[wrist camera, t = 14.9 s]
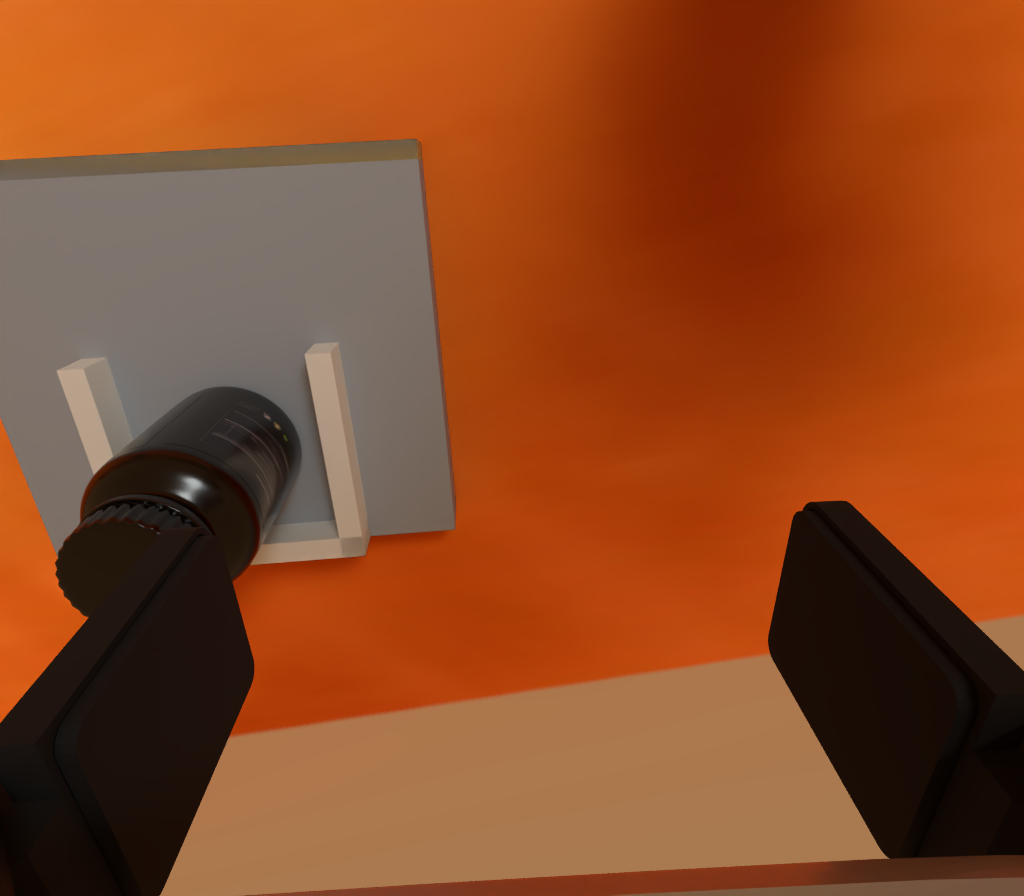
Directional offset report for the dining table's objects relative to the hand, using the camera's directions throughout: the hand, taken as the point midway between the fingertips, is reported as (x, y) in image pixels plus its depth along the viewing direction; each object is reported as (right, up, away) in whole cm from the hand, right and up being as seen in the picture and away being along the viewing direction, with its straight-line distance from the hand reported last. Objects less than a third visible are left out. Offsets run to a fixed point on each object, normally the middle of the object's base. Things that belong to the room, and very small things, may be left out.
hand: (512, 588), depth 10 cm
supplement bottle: (-14, +3, +22) cm, 27 cm away
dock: (-15, +7, +23) cm, 29 cm away
